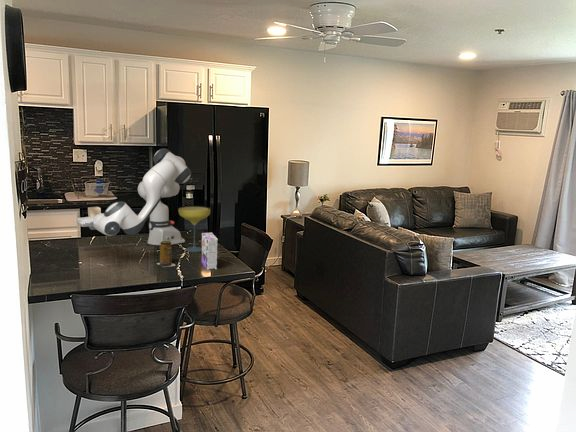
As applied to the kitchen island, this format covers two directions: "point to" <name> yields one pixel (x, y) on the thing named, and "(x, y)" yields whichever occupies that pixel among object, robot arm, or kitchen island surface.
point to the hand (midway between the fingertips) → (94, 217)
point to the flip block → (93, 214)
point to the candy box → (209, 251)
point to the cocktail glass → (194, 219)
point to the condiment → (166, 254)
